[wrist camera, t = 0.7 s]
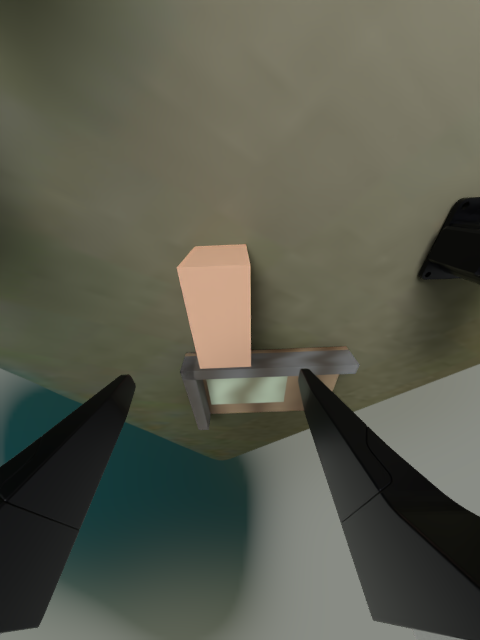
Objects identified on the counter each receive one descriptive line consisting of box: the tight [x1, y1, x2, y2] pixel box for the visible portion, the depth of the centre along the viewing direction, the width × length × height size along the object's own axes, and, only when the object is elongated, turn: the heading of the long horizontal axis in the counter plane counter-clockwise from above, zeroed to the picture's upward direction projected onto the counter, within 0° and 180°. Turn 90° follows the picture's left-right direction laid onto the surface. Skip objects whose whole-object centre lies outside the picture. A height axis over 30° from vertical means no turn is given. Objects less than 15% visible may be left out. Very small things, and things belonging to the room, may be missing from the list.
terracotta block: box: [177, 244, 251, 369], centre depth 16 cm, size 4×9×6 cm, turn 2°
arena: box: [180, 346, 360, 430], centre depth 25 cm, size 20×13×3 cm, turn 92°
